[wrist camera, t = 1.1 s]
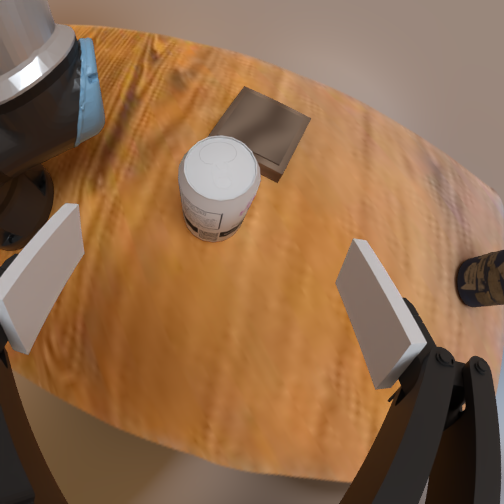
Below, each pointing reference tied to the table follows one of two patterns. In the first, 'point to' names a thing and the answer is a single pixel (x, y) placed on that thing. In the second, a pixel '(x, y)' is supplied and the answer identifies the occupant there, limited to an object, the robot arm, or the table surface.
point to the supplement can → (217, 186)
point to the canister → (482, 280)
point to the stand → (263, 130)
